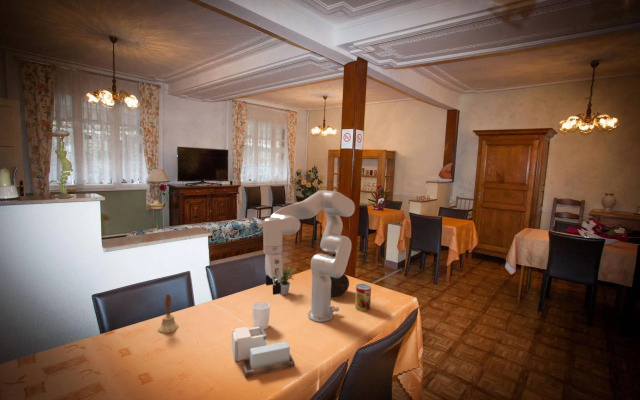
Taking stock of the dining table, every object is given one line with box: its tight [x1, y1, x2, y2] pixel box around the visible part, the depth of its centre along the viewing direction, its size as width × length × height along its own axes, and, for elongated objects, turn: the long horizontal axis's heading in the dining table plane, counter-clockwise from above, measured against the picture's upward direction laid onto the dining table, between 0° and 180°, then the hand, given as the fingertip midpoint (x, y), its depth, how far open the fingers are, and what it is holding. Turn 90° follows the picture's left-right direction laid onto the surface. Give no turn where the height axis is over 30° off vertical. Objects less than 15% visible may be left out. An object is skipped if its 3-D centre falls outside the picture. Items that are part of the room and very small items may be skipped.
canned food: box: [354, 283, 372, 312], centre depth 166 cm, size 8×8×12 cm
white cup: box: [252, 301, 271, 330], centre depth 143 cm, size 8×8×10 cm
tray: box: [240, 354, 295, 379], centre depth 116 cm, size 18×8×2 cm, turn 113°
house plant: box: [274, 266, 296, 296], centre depth 180 cm, size 14×14×16 cm
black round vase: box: [330, 253, 350, 297], centre depth 184 cm, size 18×18×28 cm
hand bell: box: [157, 293, 179, 334], centre depth 138 cm, size 8×8×16 cm
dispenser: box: [231, 326, 268, 362], centre depth 123 cm, size 12×8×9 cm, turn 113°
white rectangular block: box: [250, 341, 291, 370], centre depth 116 cm, size 14×4×6 cm, turn 114°
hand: (273, 289), depth 127 cm, fingers open, 9 cm apart
